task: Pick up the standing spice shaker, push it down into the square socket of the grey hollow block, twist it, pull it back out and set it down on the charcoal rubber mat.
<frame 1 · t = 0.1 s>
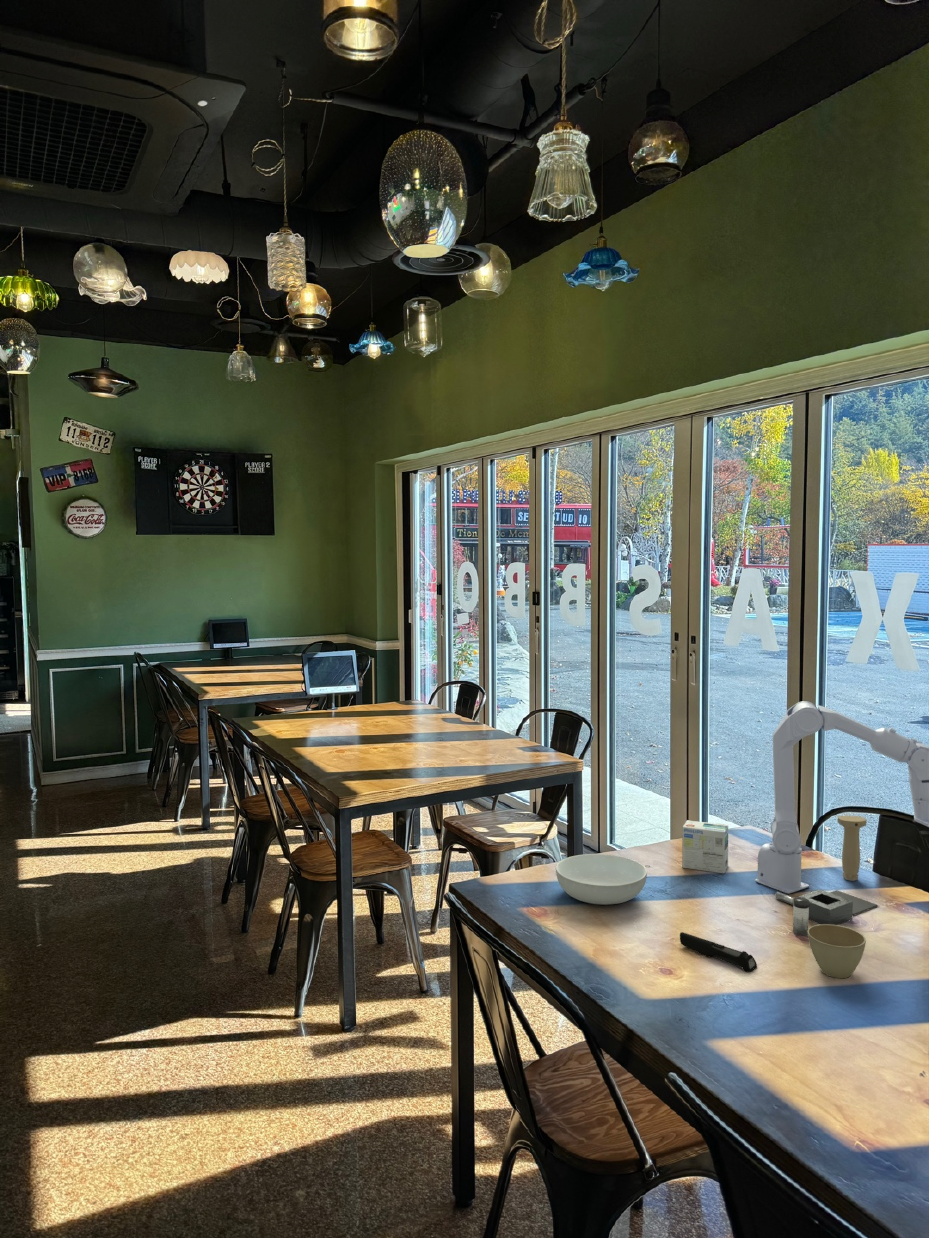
spice shaker: (800, 932, 174), on the table
electric trimmer: (717, 959, 163), on the table
light bulb box: (705, 867, 212), on the table
handle: (850, 879, 203), on the table
serving bowl: (600, 897, 193), on the table
flower pot: (835, 972, 157), on the table
mat: (844, 903, 189), on the table
grey hollow block: (824, 917, 181), on the table
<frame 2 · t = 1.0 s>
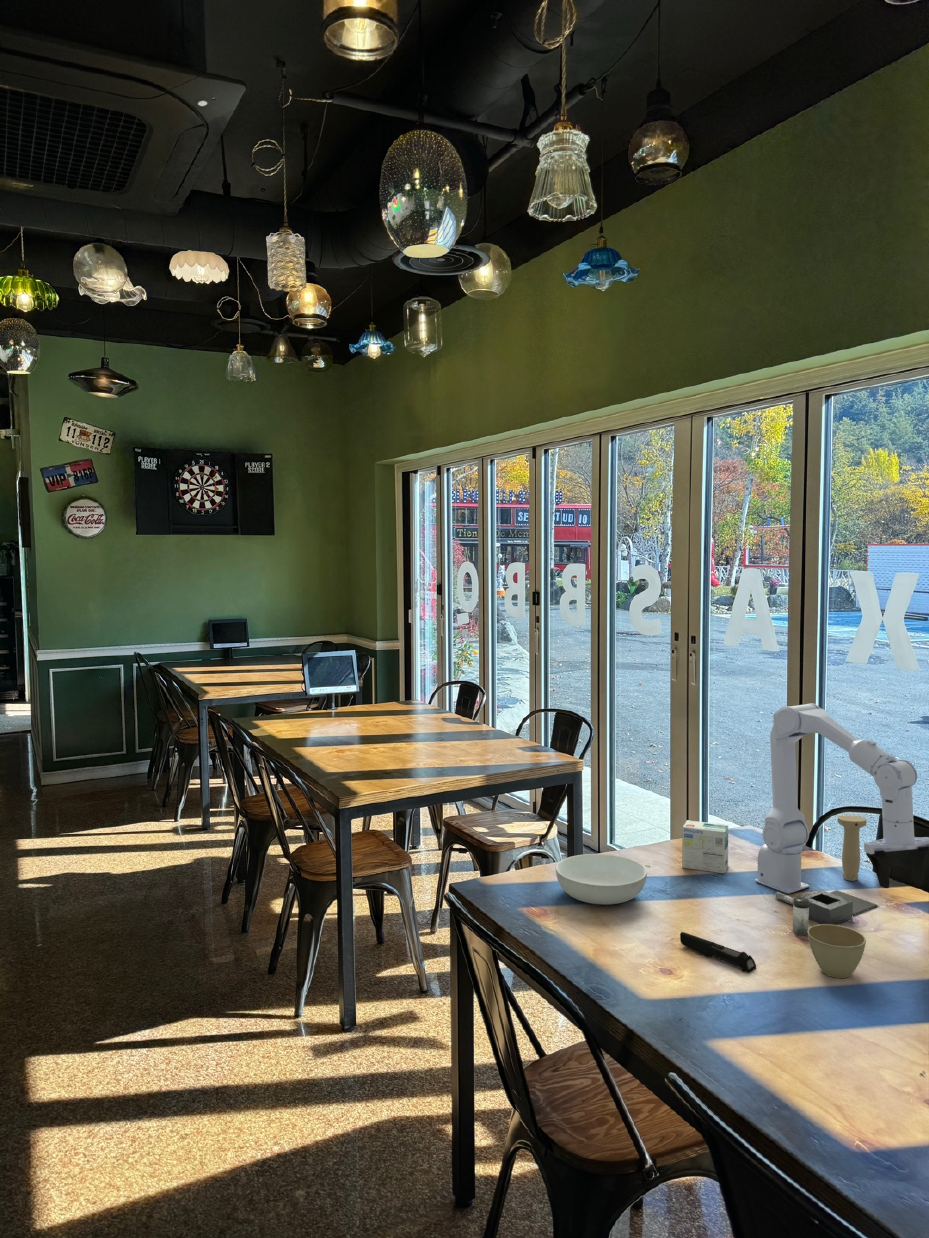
hand: (901, 885, 174), 10 cm above the table, tool pointing down, fingers open, 7 cm apart
nothing on the table moved.
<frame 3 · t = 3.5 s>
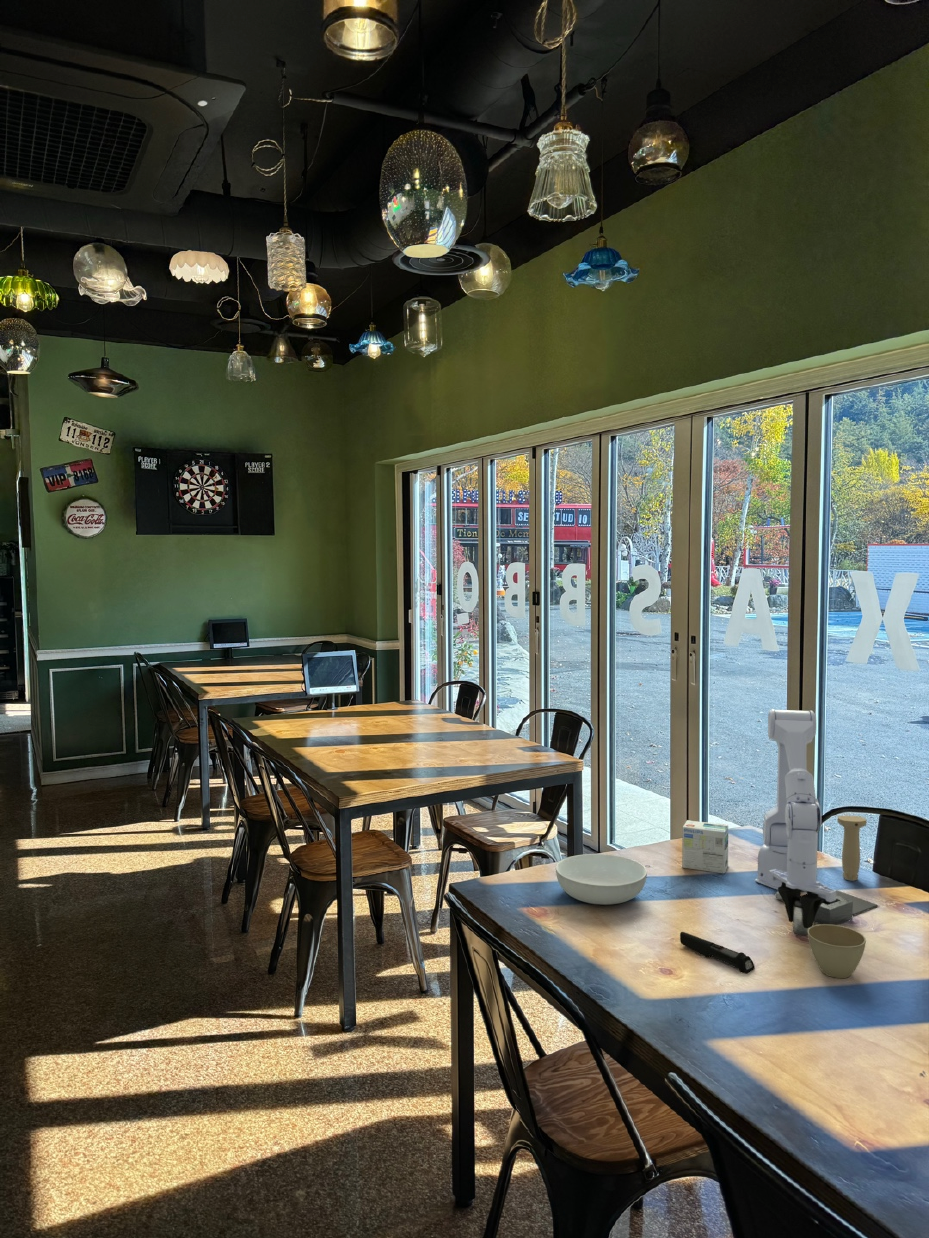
hand: (800, 923, 174), 2 cm above the table, tool pointing down, fingers closed on spice shaker, 3 cm apart
spice shaker: (800, 932, 174), on the table, touching gripper
everything else where it was.
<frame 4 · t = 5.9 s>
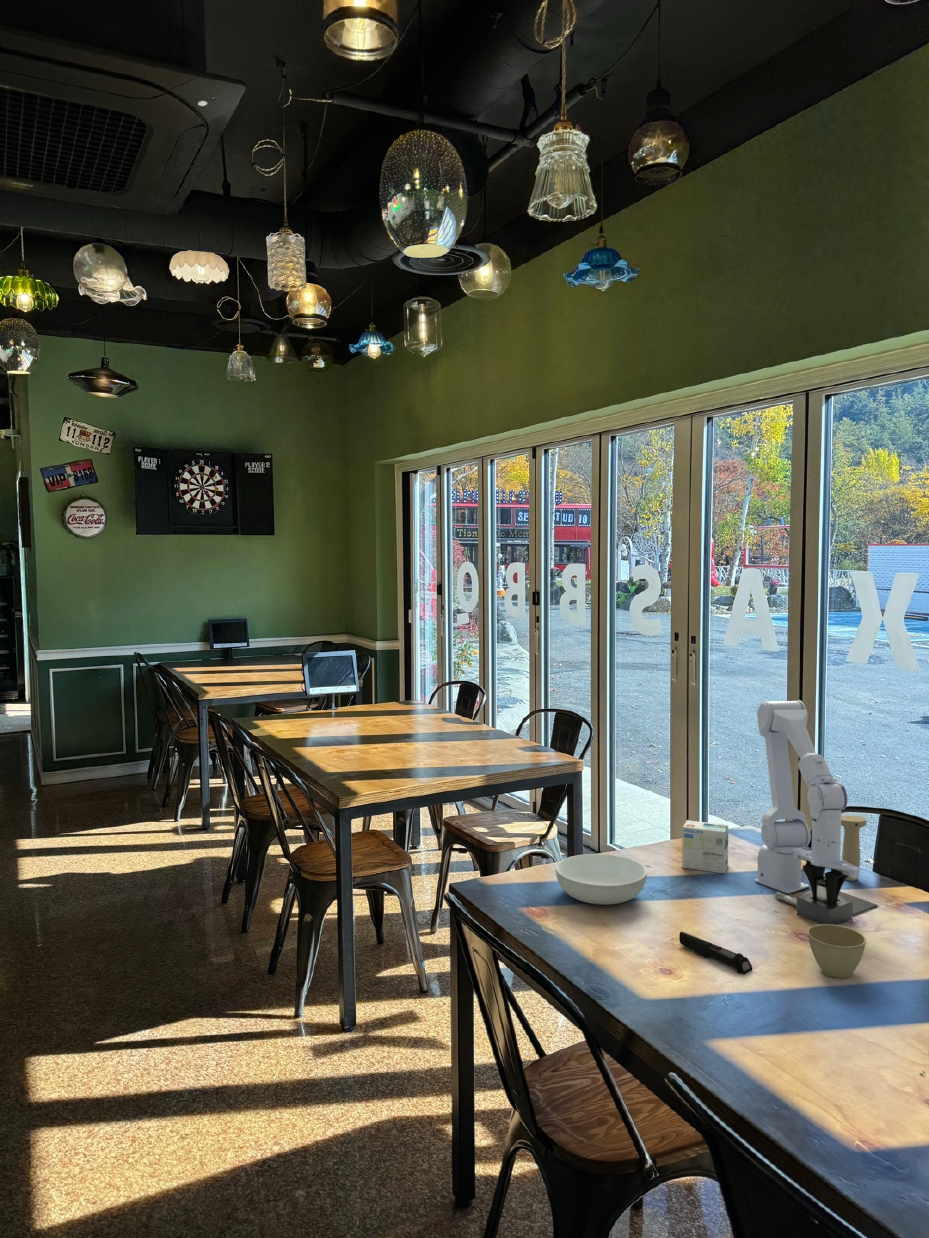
hand: (824, 900, 181), 4 cm above the table, tool pointing down, fingers closed on grey hollow block, spice shaker, 3 cm apart
spice shaker: (824, 910, 181), point 2 cm above the table, touching gripper
everything else where it was.
when the fingers open (3 cm above the table, at t = 10.0 s): spice shaker stays where it is, resting on mat.
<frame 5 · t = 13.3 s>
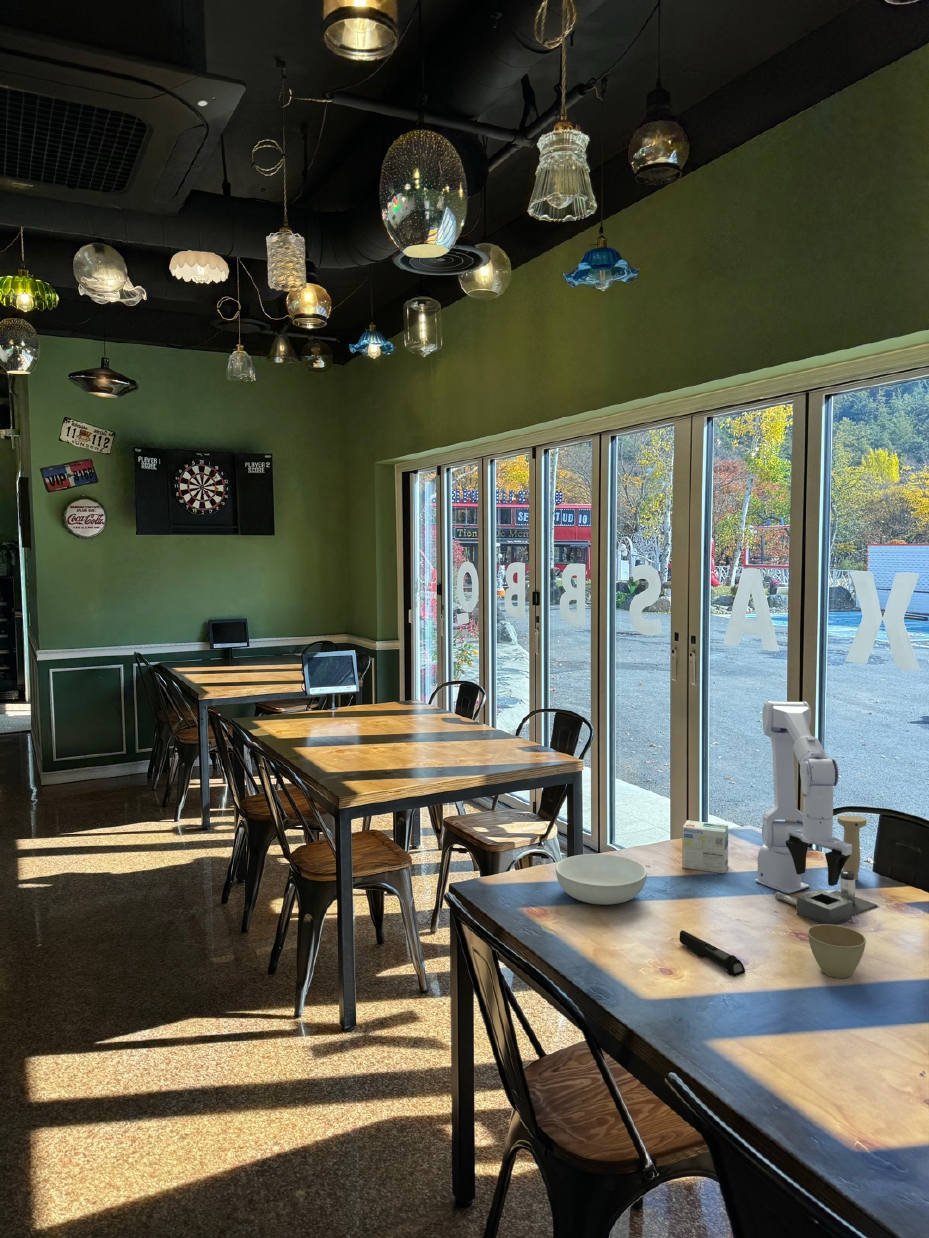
hand: (816, 878, 176), 10 cm above the table, tool pointing down, fingers open, 7 cm apart
spice shaker: (847, 903, 188), resting on mat
at the end: spice shaker inside the target area on the mat (1.1 cm from its centre), point 0.5 cm above the mat's base; spice shaker tilted 2°; the gripper is holding nothing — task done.
